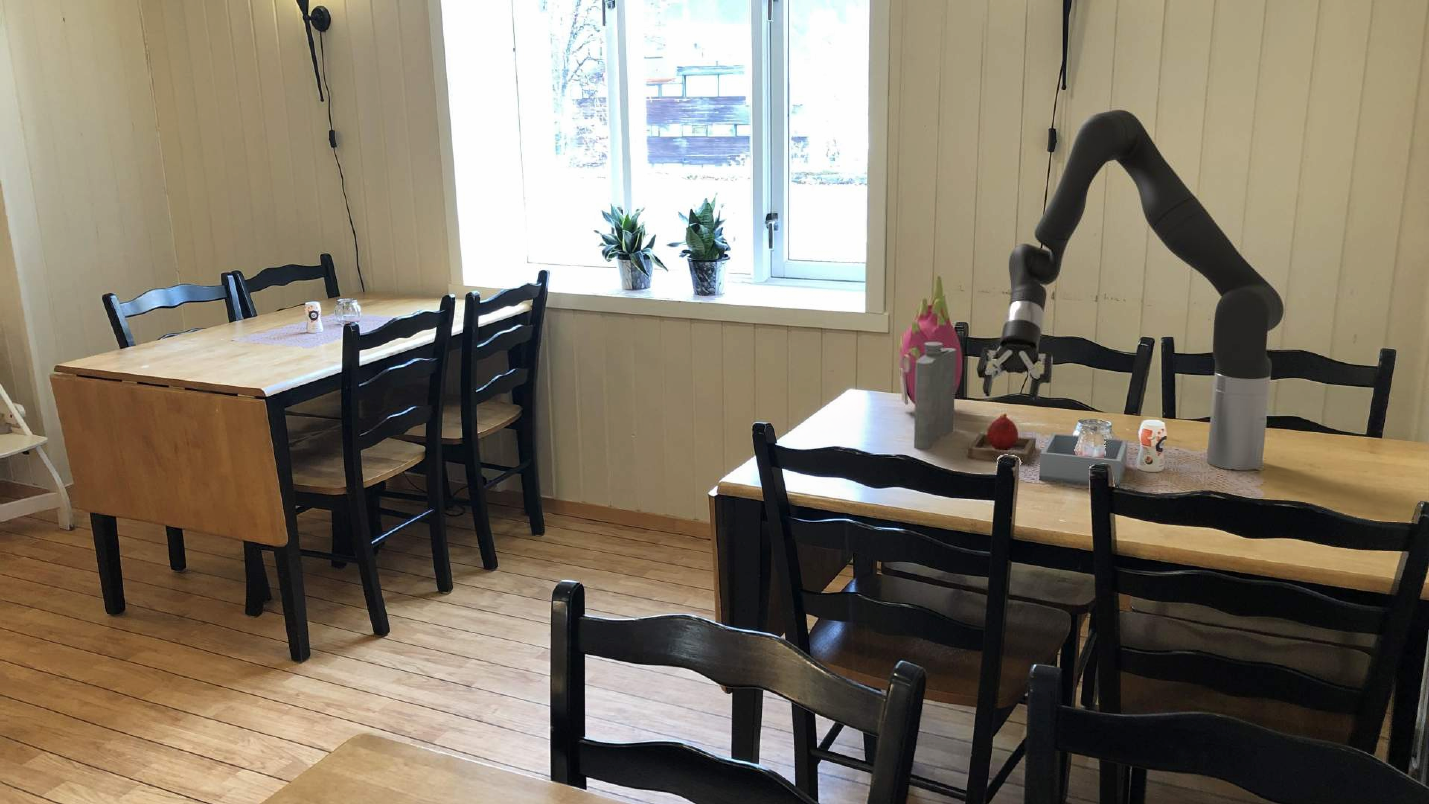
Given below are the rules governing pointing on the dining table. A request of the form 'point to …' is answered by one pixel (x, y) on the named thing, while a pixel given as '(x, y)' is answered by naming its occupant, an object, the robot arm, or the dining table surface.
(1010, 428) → the onion
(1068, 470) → the bin
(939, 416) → the hip flask
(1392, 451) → the dining table surface
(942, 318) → the pink dragon fruit
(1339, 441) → the dining table surface
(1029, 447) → the tray
